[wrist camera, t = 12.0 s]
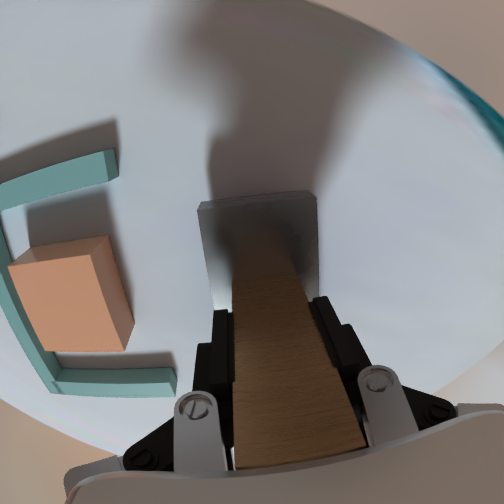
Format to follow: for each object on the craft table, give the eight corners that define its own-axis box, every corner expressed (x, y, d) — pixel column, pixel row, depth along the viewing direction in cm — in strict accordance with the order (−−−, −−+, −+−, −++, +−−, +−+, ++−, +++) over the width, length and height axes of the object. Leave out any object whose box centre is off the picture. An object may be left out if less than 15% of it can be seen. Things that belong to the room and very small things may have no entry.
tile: (110, 232, 16) (89, 254, 13) (135, 320, 18) (124, 351, 15) (32, 246, 16) (7, 266, 13) (62, 324, 18) (45, 351, 15)
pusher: (200, 202, 14) (136, 361, 4) (307, 190, 14) (447, 315, 4) (230, 365, 18) (233, 530, 8) (311, 355, 18) (359, 511, 8)
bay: (113, 148, 14) (103, 150, 12) (177, 381, 20) (175, 396, 19) (-22, 193, 13) (-36, 199, 12) (56, 380, 20) (50, 393, 18)
